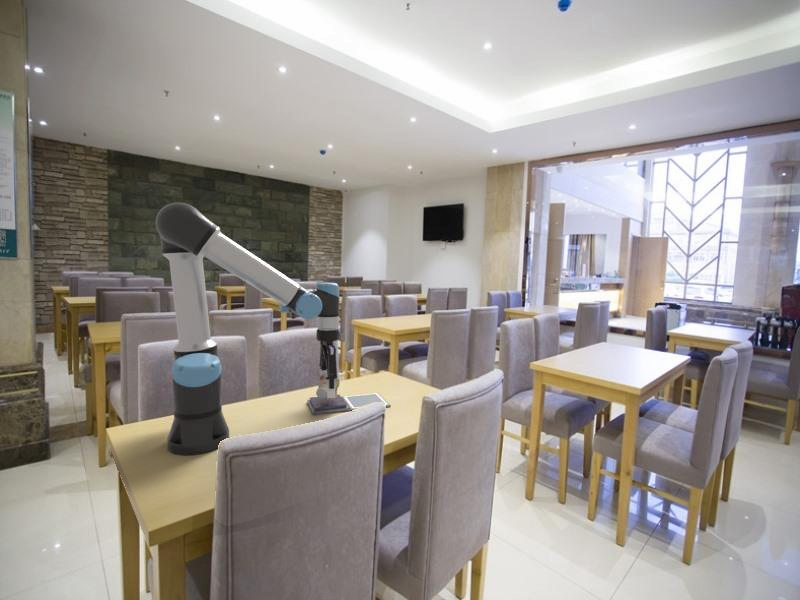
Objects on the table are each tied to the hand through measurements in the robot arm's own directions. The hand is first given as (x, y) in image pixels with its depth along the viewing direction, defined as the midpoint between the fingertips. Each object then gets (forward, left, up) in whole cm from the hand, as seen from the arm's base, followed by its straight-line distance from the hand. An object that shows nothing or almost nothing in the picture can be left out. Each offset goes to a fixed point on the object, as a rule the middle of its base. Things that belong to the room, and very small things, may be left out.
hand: (327, 392), depth 140 cm
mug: (0, -1, -1) cm, 1 cm away
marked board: (+13, 0, -5) cm, 14 cm away
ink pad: (0, 0, -5) cm, 5 cm away
